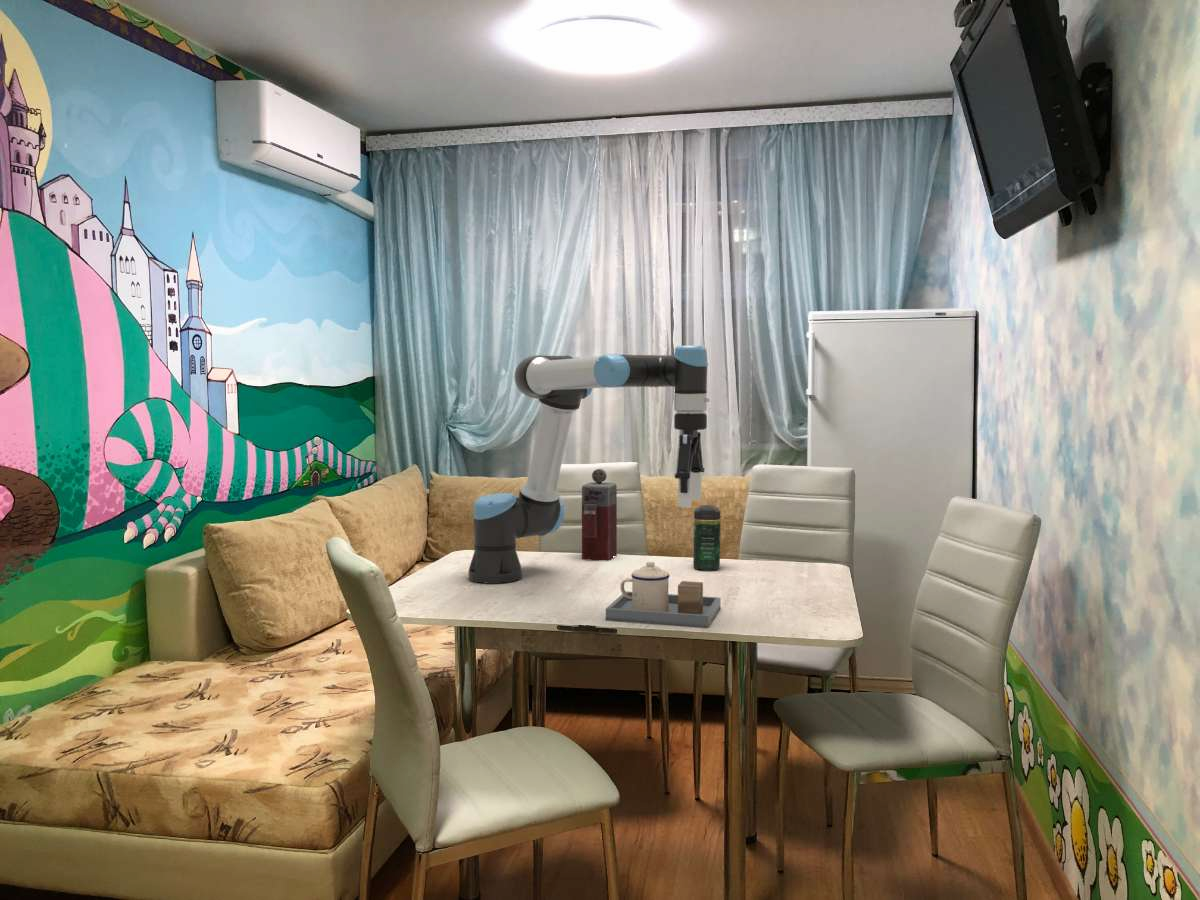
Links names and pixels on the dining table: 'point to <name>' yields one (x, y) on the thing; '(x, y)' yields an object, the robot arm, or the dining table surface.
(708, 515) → the coffee jar
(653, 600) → the teacup with lid
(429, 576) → the dining table surface
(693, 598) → the walnut block
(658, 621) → the tray
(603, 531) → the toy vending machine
